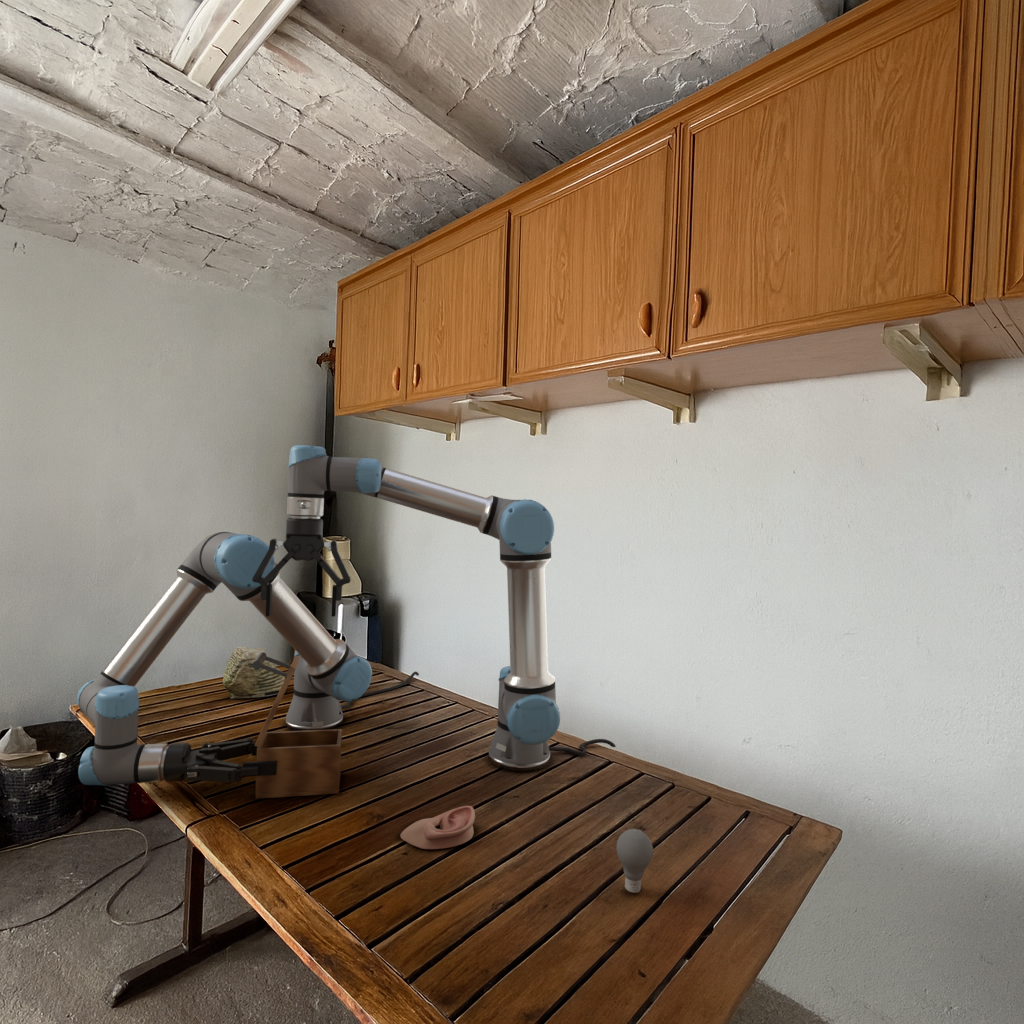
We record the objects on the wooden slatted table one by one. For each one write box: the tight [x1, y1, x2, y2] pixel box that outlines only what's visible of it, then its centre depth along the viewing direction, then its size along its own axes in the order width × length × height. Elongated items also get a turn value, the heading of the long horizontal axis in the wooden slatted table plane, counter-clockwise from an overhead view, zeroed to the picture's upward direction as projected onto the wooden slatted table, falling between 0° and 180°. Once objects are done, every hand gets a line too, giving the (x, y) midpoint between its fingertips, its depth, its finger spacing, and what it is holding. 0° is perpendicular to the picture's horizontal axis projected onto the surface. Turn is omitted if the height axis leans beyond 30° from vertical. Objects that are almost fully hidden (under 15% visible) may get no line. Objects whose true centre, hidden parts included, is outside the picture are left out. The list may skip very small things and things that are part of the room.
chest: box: [255, 728, 343, 800], centre depth 138 cm, size 17×10×10 cm, turn 103°
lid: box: [252, 651, 300, 747], centre depth 136 cm, size 18×10×8 cm
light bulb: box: [615, 828, 654, 894], centre depth 106 cm, size 6×6×10 cm
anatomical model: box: [399, 805, 476, 850], centre depth 121 cm, size 13×4×12 cm
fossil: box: [222, 646, 286, 699], centre depth 198 cm, size 9×18×15 cm, turn 132°
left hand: (279, 757), depth 137 cm, fingers closed on chest, 10 cm apart
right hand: (301, 615), depth 137 cm, fingers open, 13 cm apart
